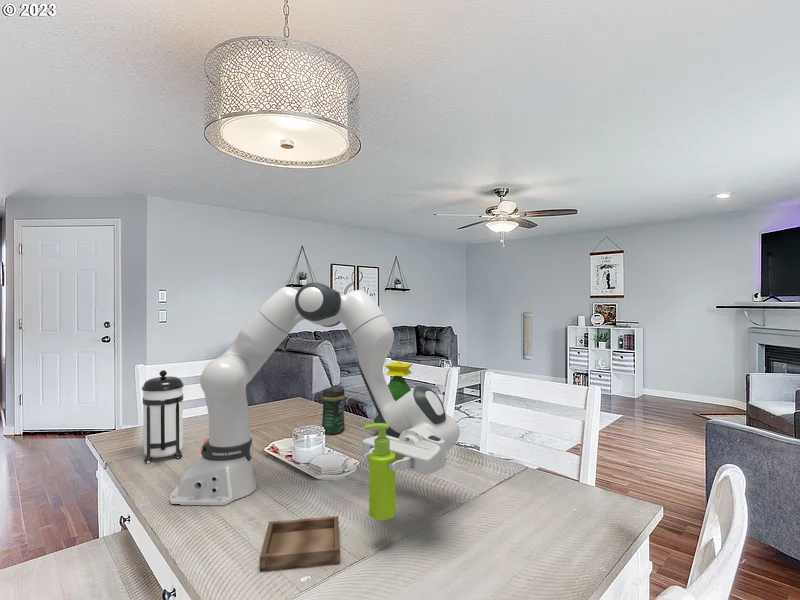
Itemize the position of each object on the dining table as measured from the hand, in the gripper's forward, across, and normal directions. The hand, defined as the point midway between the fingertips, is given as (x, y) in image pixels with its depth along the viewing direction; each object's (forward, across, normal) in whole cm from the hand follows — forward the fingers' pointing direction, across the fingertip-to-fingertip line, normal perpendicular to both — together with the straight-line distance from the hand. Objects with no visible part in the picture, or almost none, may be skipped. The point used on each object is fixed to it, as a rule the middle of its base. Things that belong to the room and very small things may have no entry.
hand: (378, 463), depth 96 cm
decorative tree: (-63, -45, +19) cm, 80 cm away
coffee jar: (-51, -69, +19) cm, 88 cm away
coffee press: (+5, -94, +19) cm, 96 cm away
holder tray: (+11, -13, +19) cm, 25 cm away
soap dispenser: (-1, 0, +12) cm, 12 cm away
